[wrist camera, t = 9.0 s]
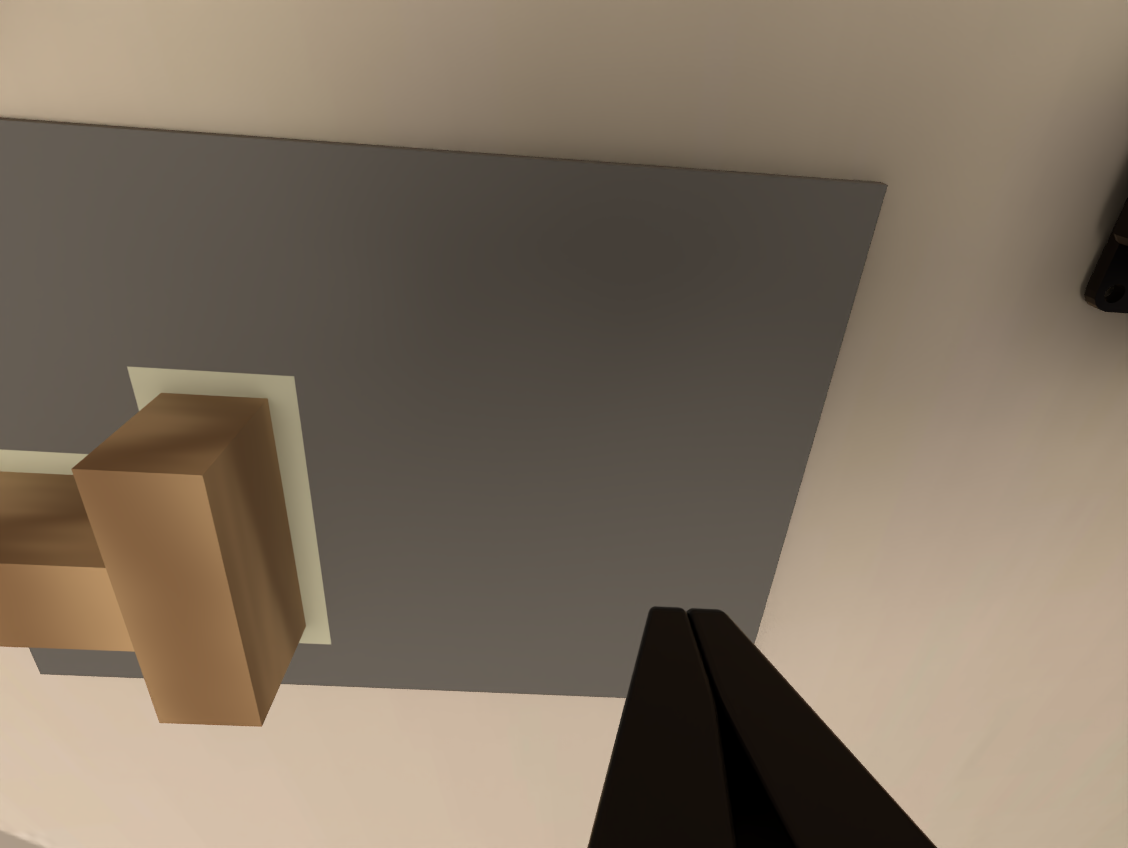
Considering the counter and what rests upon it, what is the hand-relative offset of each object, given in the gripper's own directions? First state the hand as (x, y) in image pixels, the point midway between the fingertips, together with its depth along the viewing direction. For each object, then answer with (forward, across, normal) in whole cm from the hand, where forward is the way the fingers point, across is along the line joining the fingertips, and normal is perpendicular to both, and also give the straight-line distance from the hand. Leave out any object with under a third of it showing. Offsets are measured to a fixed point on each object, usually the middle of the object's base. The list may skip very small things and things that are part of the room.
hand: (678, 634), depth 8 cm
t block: (+12, +14, +8) cm, 20 cm away
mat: (+12, +6, +6) cm, 15 cm away
